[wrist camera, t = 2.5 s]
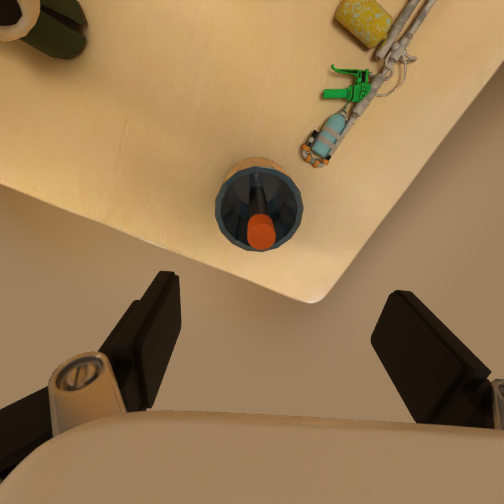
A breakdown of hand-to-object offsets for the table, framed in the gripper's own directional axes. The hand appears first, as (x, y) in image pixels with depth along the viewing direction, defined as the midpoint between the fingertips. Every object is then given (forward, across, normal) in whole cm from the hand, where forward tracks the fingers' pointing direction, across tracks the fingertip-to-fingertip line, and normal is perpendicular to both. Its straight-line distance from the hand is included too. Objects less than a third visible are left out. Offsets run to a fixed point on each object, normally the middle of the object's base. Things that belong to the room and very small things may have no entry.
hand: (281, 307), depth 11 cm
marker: (+23, +1, 0) cm, 23 cm away
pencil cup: (+24, +1, 0) cm, 24 cm away
